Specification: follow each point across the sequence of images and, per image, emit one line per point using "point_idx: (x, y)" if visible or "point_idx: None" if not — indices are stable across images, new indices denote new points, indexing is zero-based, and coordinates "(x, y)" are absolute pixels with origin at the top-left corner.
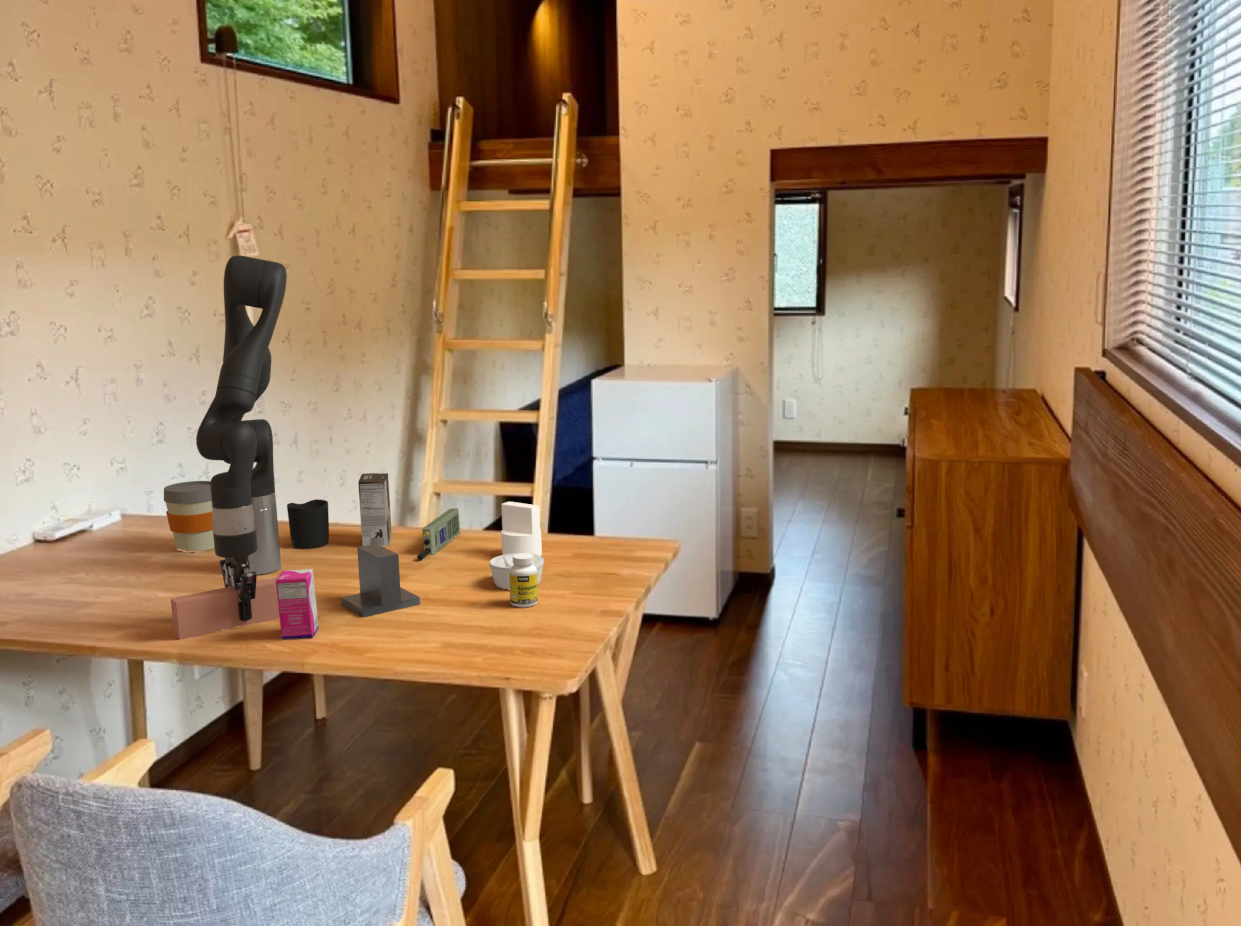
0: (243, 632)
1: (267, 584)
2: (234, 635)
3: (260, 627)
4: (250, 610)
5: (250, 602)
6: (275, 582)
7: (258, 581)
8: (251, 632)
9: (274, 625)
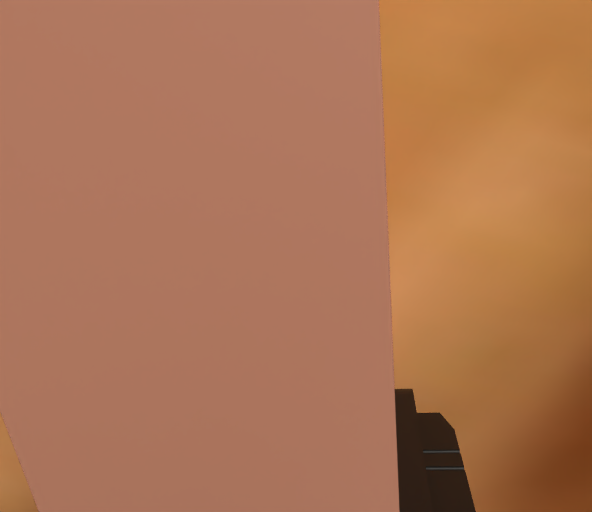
0: (531, 440)
1: (368, 426)
2: (548, 497)
3: (509, 319)
4: (462, 463)
5: (432, 509)
6: (331, 249)
7: (51, 485)
8: (577, 401)
9: (546, 211)
